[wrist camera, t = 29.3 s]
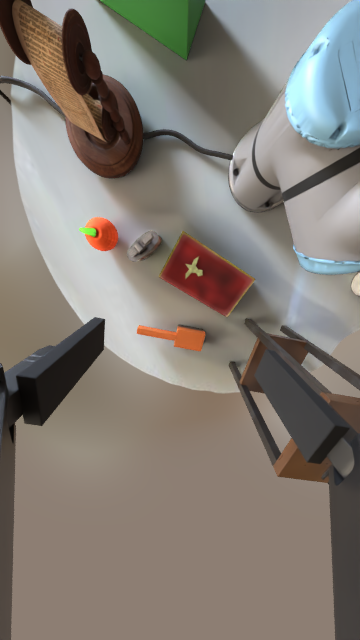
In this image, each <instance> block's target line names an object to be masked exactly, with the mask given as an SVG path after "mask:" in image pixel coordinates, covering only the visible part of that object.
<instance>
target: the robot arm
mask: <svg viewBox="0 0 360 640" xmlns="http://www.w3.org/2000/svg"><path fill="white" fill-rule="evenodd" d="M0 83H9V84H14V85H18V86H21V87H24V88H27V89H29V90H31V91H33V92H35V93H37V94H38V95H40V96H41V97H42V98H44V99H45V100H46V101H47V102H48V103H49V104H51V105H52V106H53V107H54V108H55V109H56V110H57V111H58V112H59V113H61V114H62V115H63V116H65V114H64V113H63V111H62V110H61V109H60V107H59V106H58V105H57V104H56V103H55V102H53V101H52V100H51V99H50V98H49V97H48V96H47V95H46V94H45V93H43V92H42V91H41V90H39V89H38V88H36V87H35V86H33V85H31V84H29V83H27V82H24V81H22V80H19V79H15V78H12V77H7V76H0ZM0 95H1V96H2V97H3V98H4V99H5V100H6V101H7V102H8V103H9V104H10V105H11V100H10V99H9V98H8V97H7V96H6V95H5V94H4V93H3V92H2V91H1V90H0ZM65 117H66V116H65ZM160 135H170V136H174V137H177V138H179V139H181V140H182V141H184V142H185V143H187V144H188V145H189V146H190V147H192V148H193V149H195V150H196V151H198V152H200V153H203V154H206V155H210V156H216V157H220V158H224V159H228V160H231V161H230V165H229V173H228V179H229V187H230V190H231V193H232V195H233V197H234V199H235V201H236V202H237V203H238V204H239V205H240V206H241V207H243V208H244V209H246V210H248V211H252V212H263V211H267V210H270V209H272V208H274V207H276V206H277V205H279V204H280V203H282V202H283V201H284V205H285V209H286V213H287V218H288V222H289V226H290V230H291V234H292V238H293V242H294V245H293V248H294V251H295V252H296V254H297V257H298V260H299V263H300V265H301V267H303V268H304V269H305V270H306V271H309V272H312V273H316V274H325V275H336V274H348V273H354V272H359V271H360V0H352V1H350V2H349V3H348V4H346V5H345V6H344V7H343V8H341V9H340V10H339V11H338V12H337V13H336V14H335V15H334V16H333V17H332V18H331V19H330V20H329V21H328V22H327V24H326V25H325V26H324V27H323V29H322V30H321V31H320V33H319V34H318V35H317V37H316V38H315V40H314V41H313V43H312V44H311V45H310V47H309V48H308V50H307V51H306V52H305V53H304V54H303V55H302V57H301V58H300V60H299V61H298V62H297V64H296V65H295V67H294V69H293V71H292V73H291V75H290V77H289V79H288V81H287V82H286V84H285V86H284V87H283V89H282V91H281V92H280V94H279V96H278V97H277V99H276V101H275V102H274V104H273V105H272V107H271V109H270V110H269V112H268V114H267V115H266V117H265V119H263V120H262V121H260V122H259V123H257V124H256V125H254V126H253V127H252V128H251V129H250V130H249V131H248V132H247V133H246V134H245V135H244V136H243V137H242V139H241V140H240V142H239V143H238V145H237V147H236V149H235V151H234V153H233V155H230V154H226V153H221V152H217V151H212V150H207V149H204V148H202V147H200V146H198V145H196V144H195V143H193V142H192V141H191V140H189V139H188V138H187V137H185V136H184V135H182V134H181V133H179V132H176V131H173V130H166V129H163V130H156V131H152V132H148V133H143V139H147V138H151V137H155V136H160ZM104 329H105V319H101V318H96V317H95V318H93V319H92V320H90V321H89V322H88V323H86V324H85V325H84V326H82V327H81V328H80V329H78V330H77V331H75V332H74V333H73V334H72V335H70V336H69V337H67V338H66V339H65V340H63V341H62V342H61V343H59V344H58V345H56V346H47V347H44V348H42V349H39V350H38V351H36V352H35V353H33V354H32V355H31V356H29V357H27V358H26V359H24V361H21V362H20V363H18V364H17V365H15V366H14V367H12V368H11V369H9V370H8V371H6V372H5V373H4V370H3V366H2V364H1V363H0V640H11V611H12V570H13V567H12V566H13V528H14V527H13V526H14V485H15V484H14V483H15V441H16V425H15V422H16V421H17V420H18V419H19V418H20V417H21V416H22V415H23V418H24V423H26V424H32V425H39V426H42V425H43V424H44V423H45V421H46V420H47V419H48V418H49V417H50V415H51V414H52V413H53V411H54V410H55V409H56V408H57V407H58V405H59V404H60V403H61V402H62V400H63V399H64V398H65V397H66V395H67V394H68V393H69V392H70V390H71V389H72V388H73V387H74V386H75V384H76V383H77V382H78V381H79V379H80V378H81V377H82V376H83V374H84V373H85V372H86V371H87V370H88V368H89V367H90V366H91V365H92V363H93V362H94V361H95V359H96V358H97V357H98V356H99V355H100V353H101V352H102V351H103V350H104ZM254 376H255V378H256V380H257V381H258V383H259V385H260V386H261V388H262V389H263V391H264V393H265V394H266V396H267V398H268V399H269V401H270V403H271V404H272V406H273V407H274V409H275V411H276V413H277V414H278V416H279V417H280V419H281V420H282V422H283V424H284V426H285V427H286V429H287V430H288V432H289V434H290V436H291V437H292V439H293V440H294V442H295V444H296V445H297V447H298V449H299V450H300V452H301V454H302V455H303V457H304V459H305V460H306V462H308V463H315V464H321V463H322V462H323V461H324V459H325V458H326V457H328V459H329V460H330V461H331V463H332V464H331V465H330V466H329V468H328V469H327V470H326V471H325V472H324V473H323V475H322V477H321V479H322V480H324V479H325V478H326V477H329V481H328V484H329V491H330V492H329V493H330V518H331V543H332V565H333V567H332V568H333V593H334V617H335V640H360V433H359V434H358V433H357V432H356V431H355V430H354V429H353V428H352V427H351V426H350V425H349V424H348V423H347V422H346V421H345V420H344V419H343V418H342V417H341V416H340V415H339V414H338V412H337V411H335V409H334V408H333V407H332V406H331V405H329V403H328V402H327V401H326V400H325V399H324V398H323V397H322V396H320V395H319V394H318V393H316V392H315V391H314V390H313V389H312V388H311V387H310V386H309V385H308V384H307V383H306V382H305V381H304V380H303V379H302V378H301V377H300V376H299V375H298V374H297V373H296V372H295V371H294V370H293V369H292V368H291V367H290V366H289V365H288V364H287V363H286V362H285V361H284V360H283V359H282V358H281V356H280V355H279V354H278V353H277V352H276V351H274V350H268V349H266V350H265V353H264V355H263V357H262V359H261V361H260V364H259V366H258V368H257V370H256V373H255V375H254Z"/></svg>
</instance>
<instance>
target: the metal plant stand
mask: <svg viewBox="0 0 360 640" xmlns="http://www.w3.org/2000/svg"><path fill="white" fill-rule="evenodd" d="M245 325H246V326H247V327H248V328H249V329H250V330H251V331H252V332H253V333H254V334H255V335H256V336H257V337H258V338H257V341H256V343H255V346H254V348H253V350H252V353H251V355H250V358H249V360H248V362H247V365H246V367H245V370H244V372H243V375H242V376H241V374H240V372H239V370H238V368H237V366H236V364H235V362H230V363H229V367H230V369H231V372H232V374H233V376H234V379H235V381H236V383H237V385H238V388H239V390H240V392H241V394H242V397H243V399H244V401H245V403H246V406H247V408H248V410H249V413H250V415H251V417H252V420H253V422H254V424H255V426H256V429H257V431H258V433H259V436H260V438H261V440H262V442H263V444H264V447H265V449H266V451H267V454H268V456H269V458H270V461H271V463H272V465H273V467H274V469H275V472H276V474H277V476H278V477H285V478H293V479H301V480H309V481H317V482H325V483H328V481H329V477H326V478H325V479H324V480H322V479H321V477H322V475H323V473H324V472H325V471H326V470H327V469H328V468H329V466H330V465H331V464H332V463H331V461H330V460H329V459H328V457H326V458H325V459H324V461H323V462H322V463H321V464H315V463H308V462H306V460H305V459H304V457H303V455H302V454H301V452H300V450H299V449H298V447H297V445H296V444H295V442H294V440H293V439H292V438H291V440H290V441H289V443H288V444H287V446H286V447H285V449H284V451H283V452H282V453H280V451H279V449H278V447H277V445H276V443H275V441H274V439H273V437H272V435H271V433H270V431H269V429H268V427H267V425H266V423H265V421H264V419H263V417H262V415H261V413H260V411H259V409H258V407H257V405H256V403H255V402H254V400H253V398H252V396H251V394H250V391H254V392H260V393H264V391H263V389H262V388H261V386H260V385H259V383H258V381H257V380H256V378H255V376H254V375H255V373H256V370H257V368H258V366H259V364H260V361H261V359H262V357H263V355H264V353H265V350H266V349H268V350H274V351H276V352H277V353H278V354H279V355H280V356H281V358H282V359H283V360H284V361H285V362H286V363H287V364H288V365H289V366H290V367H291V368H292V369H293V370H294V371H295V372H296V373H297V374H298V375H299V376H300V377H301V378H302V379H303V380H304V381H305V382H306V383H307V384H308V385H309V386H310V387H311V388H312V389H313V390H314V391H315V392H316V393H318V394H319V395H320V396H322V397H323V398H324V399H325V400H326V401H327V402H328V403H329V405H331V406H332V407H333V408H334V409H335V411H337V412H338V414H339V415H340V416H341V417H342V418H343V419H344V420H345V421H346V422H347V423H348V424H349V425H350V426H351V427H352V428H353V429H354V430H355V431H356V432H357V433H358V434H359V433H360V398H355V397H350V396H344V395H338V394H332V393H331V392H330V391H329V390H328V389H327V388H325V387H324V386H323V385H322V384H321V383H320V382H319V381H318V380H317V379H316V378H315V377H313V376H312V375H311V374H310V373H309V372H308V371H307V370H306V369H305V368H304V367H303V366H301V364H302V362H303V361H304V359H305V357H306V355H307V353H308V352H310V353H311V354H312V355H314V356H315V357H316V358H318V359H319V360H320V361H322V362H323V363H324V364H325V365H327V366H328V367H329V368H331V369H332V370H333V371H335V372H336V373H338V374H339V375H340V376H341V377H343V378H344V379H345V380H347V381H348V382H349V383H351V384H352V385H353V386H355V387H356V388H357V389H359V390H360V375H359V374H357V373H355V372H354V371H353V370H351V369H350V368H348V367H346V366H345V365H344V364H342V363H341V362H339V361H338V360H336V359H335V358H333V357H332V356H330V355H329V354H327V353H326V352H324V351H323V350H321V349H320V348H318V347H317V346H315V345H314V344H312V343H311V342H309V341H308V340H306V339H305V338H303V337H302V336H300V335H299V334H297V333H296V332H294V331H293V330H292V329H290V328H289V327H287V326H282V327H281V329H280V331H282V332H283V333H284V334H286V335H287V336H288V337H283V336H278V335H273V334H268V333H265V332H264V331H263V330H262V329H261V328H260V327H259V326H258V325H257V324H255V323H254V322H253V321H252V320H251V319H246V320H245ZM289 337H290V338H289Z"/></svg>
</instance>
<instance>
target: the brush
mask: <svg viewBox="0 0 360 640" xmlns="http://www.w3.org/2000/svg"><path fill="white" fill-rule="evenodd" d="M137 334H141V335H146V336H152V337H157V338H163V339H168V340H174V341H175V342H174V347H180V348H185V349H191V350H196V351H201V349H202V345H203V342H204V338H205V335H206V334H205V332H204V331H203V329H199V328H194V327H188V326H183V325H178V328H177V333H176V332H172V331H166V330H161V329H156V328H150V327H145V326H140V325H139V327H138V328H137Z"/></svg>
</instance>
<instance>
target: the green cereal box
mask: <svg viewBox="0 0 360 640" xmlns="http://www.w3.org/2000/svg"><path fill="white" fill-rule="evenodd" d="M100 1H101V2H102V3H104V4H105V5H107V6H108V7H110V8H111V9H113V10H114V11H115V12H117V13H118V14H120V15H121V16H123V17H124V18H126V19H127V20H129V21H130V22H131V23H133V24H134V25H136V26H137V27H139V28H140V29H142V30H143V31H145V32H146V33H147V34H149V35H150V36H152V37H153V38H155V39H156V40H158V41H159V42H160V43H162V44H163V45H165V46H166V47H168V48H169V49H171V50H172V51H174V52H175V53H176V54H178V55H179V56H181V57H182V58H184V59H185V60H187V57H188V54H189V51H190V48H191V45H192V42H193V39H194V35H195V32H196V29H197V26H198V23H199V20H200V17H201V13H202V10H203V7H204V4H205V0H100Z"/></svg>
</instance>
